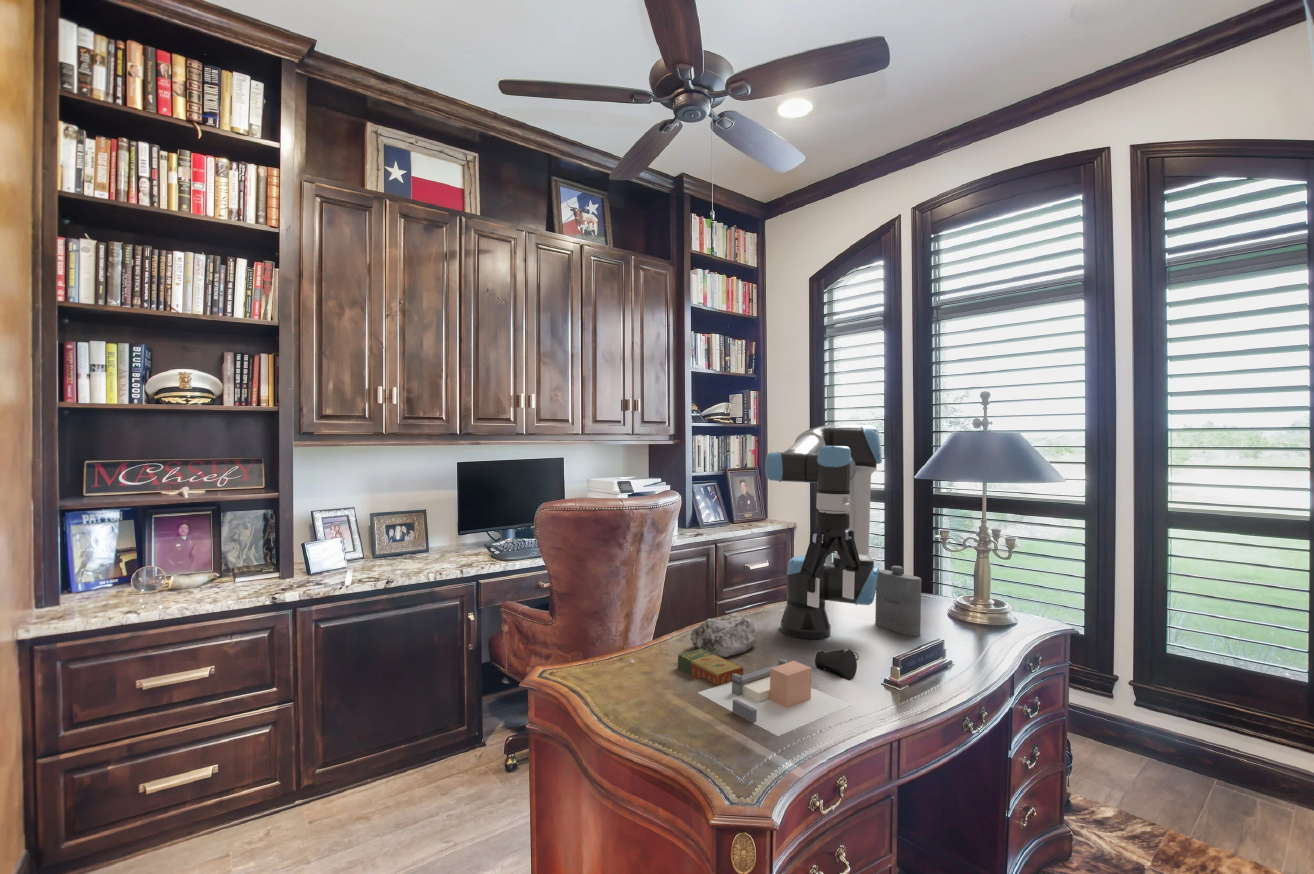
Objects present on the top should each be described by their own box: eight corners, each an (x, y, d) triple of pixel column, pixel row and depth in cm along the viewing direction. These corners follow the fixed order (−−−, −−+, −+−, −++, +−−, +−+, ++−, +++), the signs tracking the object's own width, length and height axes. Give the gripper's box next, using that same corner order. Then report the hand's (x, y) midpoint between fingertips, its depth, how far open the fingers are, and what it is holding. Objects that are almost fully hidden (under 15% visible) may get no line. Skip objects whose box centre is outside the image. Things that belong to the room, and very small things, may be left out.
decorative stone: (734, 629, 180) (736, 599, 177) (767, 651, 170) (770, 620, 167) (685, 651, 168) (687, 620, 166) (718, 676, 158) (721, 643, 155)
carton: (717, 692, 139) (717, 673, 139) (676, 669, 152) (676, 653, 152) (743, 684, 144) (743, 666, 144) (701, 662, 157) (702, 646, 157)
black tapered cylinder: (842, 682, 144) (812, 676, 150) (879, 674, 156) (850, 670, 162) (840, 650, 146) (811, 645, 152) (878, 644, 157) (849, 641, 163)
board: (697, 697, 135) (697, 674, 135) (769, 674, 149) (769, 652, 149) (777, 742, 115) (778, 714, 115) (851, 710, 130) (852, 685, 130)
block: (769, 699, 132) (770, 668, 132) (793, 690, 136) (793, 660, 137) (787, 707, 128) (787, 675, 128) (810, 698, 132) (811, 667, 133)
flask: (870, 624, 192) (871, 563, 192) (881, 621, 195) (882, 561, 195) (912, 638, 179) (913, 572, 179) (923, 634, 183) (924, 570, 183)
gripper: (813, 516, 128) (810, 614, 128) (877, 510, 143) (875, 597, 143) (785, 512, 134) (783, 606, 134) (850, 507, 149) (848, 591, 149)
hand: (831, 602), depth 138 cm, fingers open, 13 cm apart
